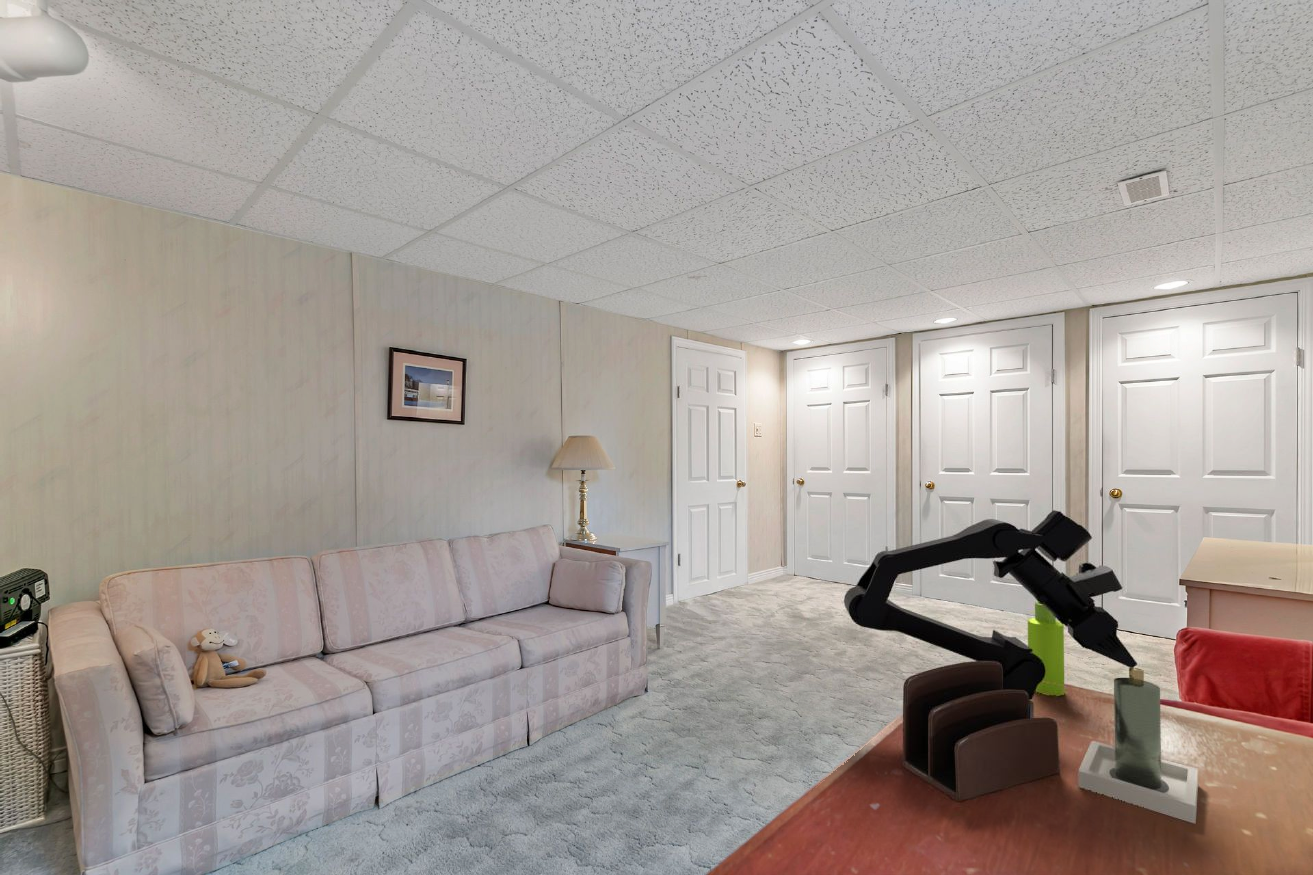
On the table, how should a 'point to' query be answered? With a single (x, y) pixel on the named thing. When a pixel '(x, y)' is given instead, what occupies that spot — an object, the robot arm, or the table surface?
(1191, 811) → the tray
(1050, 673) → the soap dispenser
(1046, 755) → the letter holder
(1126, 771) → the green bottle
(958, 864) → the table surface
